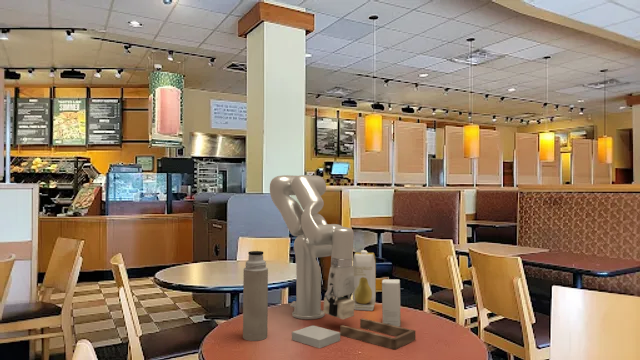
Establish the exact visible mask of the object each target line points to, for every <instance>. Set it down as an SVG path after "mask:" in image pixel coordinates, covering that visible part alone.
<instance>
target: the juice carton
mask: <svg viewBox="0 0 640 360" xmlns="http://www.w3.org/2000/svg"><path fill="white" fill-rule="evenodd" d="M376 260H377V259H376V256H375V253H374V252H368V251H367V250H366V249H365V250H364V249H362V250H360V251H359V252H355V253H353V258H352V266H353V269H354V287H355V289H354V292H353V293H352V300H355V302H354V311H371V312H372V311H373V310H374V309H375V305H376V298H377V296H376V292H377V291H376V290H377V288H376V286H377V285H376V284H377V283H376V280H377V278H376V276H377V274H376V273H377V272H376V271H377V268H376V267H377V262H376Z"/></svg>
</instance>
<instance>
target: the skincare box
mask: <svg viewBox="0 0 640 360" xmlns="http://www.w3.org/2000/svg"><path fill="white" fill-rule="evenodd" d="M381 292H382V293H381V306H382V307H381V309H382V323H385V324H389V325H393V326H398V327H401V280H400V279H395V278H394V279H391V278H390V279H389V278H388V279H386V278H385V279H382V280H381Z"/></svg>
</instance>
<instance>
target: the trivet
mask: <svg viewBox="0 0 640 360" xmlns="http://www.w3.org/2000/svg"><path fill="white" fill-rule="evenodd" d="M291 341H296V342H298V343H301V344H304V345H308V346H311V347H314V348H316V349H321V348H324V347H327V346H329V345H332V344H335V343H337V342H340V341H341V335H340V332H339V331H336V330H333V329H332V330H331V329H329V328H328V329H327V328H324V327H320V326H317V325H310V326H306V327H304V328H301V329H300V328H299V329H297V330H294V331H291Z"/></svg>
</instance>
